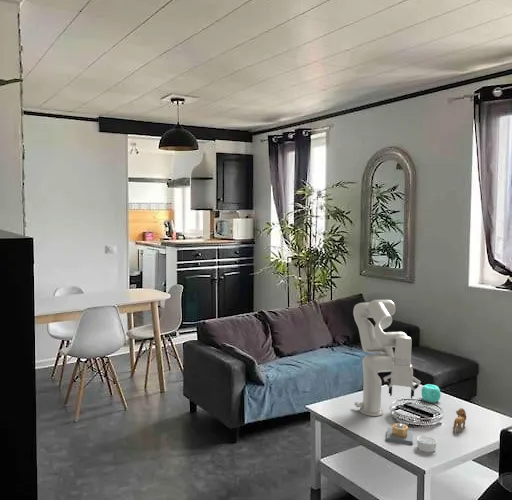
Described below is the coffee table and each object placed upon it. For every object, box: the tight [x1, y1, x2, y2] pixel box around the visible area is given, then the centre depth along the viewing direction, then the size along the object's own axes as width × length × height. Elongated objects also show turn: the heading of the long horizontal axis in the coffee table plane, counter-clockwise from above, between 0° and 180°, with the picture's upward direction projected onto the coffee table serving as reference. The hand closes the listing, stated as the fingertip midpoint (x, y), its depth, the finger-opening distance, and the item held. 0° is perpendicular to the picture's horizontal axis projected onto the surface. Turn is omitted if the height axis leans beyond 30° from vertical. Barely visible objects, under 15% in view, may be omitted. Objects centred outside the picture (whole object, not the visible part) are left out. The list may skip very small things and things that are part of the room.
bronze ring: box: [392, 422, 409, 438], centre depth 258 cm, size 7×7×4 cm
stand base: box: [385, 427, 414, 445], centre depth 258 cm, size 12×12×2 cm
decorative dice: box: [421, 383, 442, 403], centre depth 308 cm, size 8×8×8 cm
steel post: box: [396, 422, 404, 429], centre depth 257 cm, size 4×4×5 cm
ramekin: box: [416, 435, 438, 453], centre depth 246 cm, size 9×9×4 cm
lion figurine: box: [452, 407, 467, 434], centre depth 268 cm, size 15×5×9 cm, turn 153°
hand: (401, 396), depth 257 cm, fingers open, 9 cm apart
